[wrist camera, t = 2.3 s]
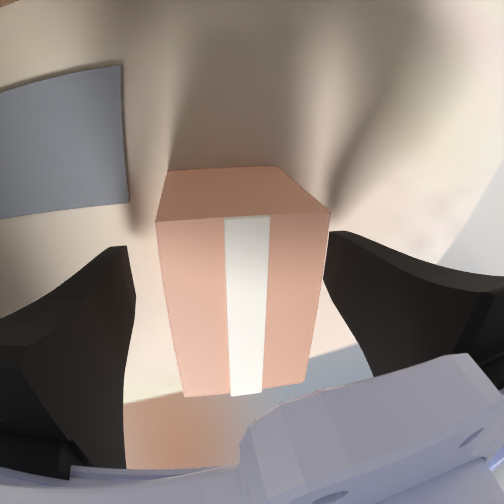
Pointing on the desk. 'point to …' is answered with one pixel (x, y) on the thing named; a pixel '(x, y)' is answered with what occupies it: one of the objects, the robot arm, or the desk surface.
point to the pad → (63, 144)
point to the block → (240, 276)
